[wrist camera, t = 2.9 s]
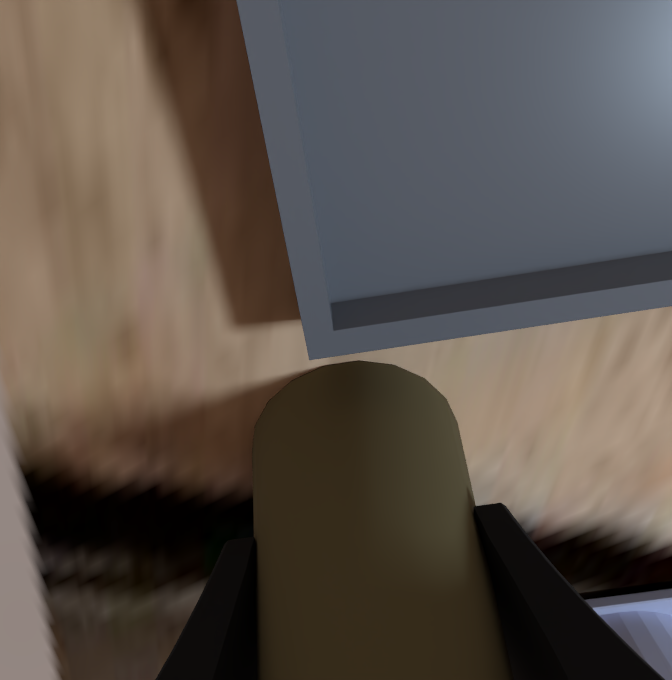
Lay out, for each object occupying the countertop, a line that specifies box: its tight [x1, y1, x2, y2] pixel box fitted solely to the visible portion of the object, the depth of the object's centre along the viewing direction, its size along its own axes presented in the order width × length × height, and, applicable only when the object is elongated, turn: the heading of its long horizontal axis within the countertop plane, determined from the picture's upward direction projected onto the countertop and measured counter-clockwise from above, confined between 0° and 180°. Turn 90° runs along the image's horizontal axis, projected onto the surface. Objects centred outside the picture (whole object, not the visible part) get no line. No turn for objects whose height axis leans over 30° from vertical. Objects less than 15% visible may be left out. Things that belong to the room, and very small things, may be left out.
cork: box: [252, 361, 514, 680], centre depth 9 cm, size 6×6×11 cm
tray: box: [236, 0, 672, 360], centre depth 8 cm, size 11×11×2 cm
